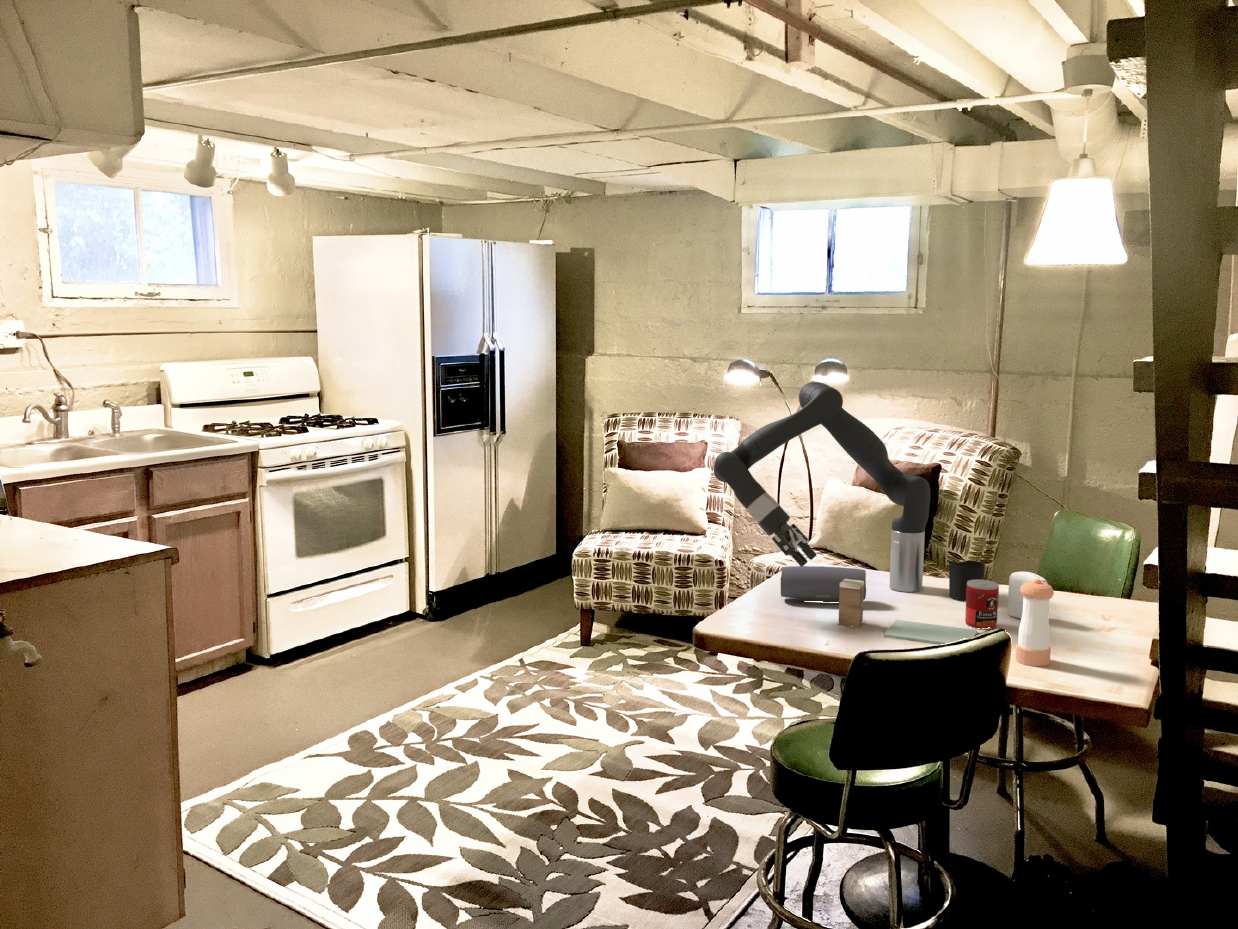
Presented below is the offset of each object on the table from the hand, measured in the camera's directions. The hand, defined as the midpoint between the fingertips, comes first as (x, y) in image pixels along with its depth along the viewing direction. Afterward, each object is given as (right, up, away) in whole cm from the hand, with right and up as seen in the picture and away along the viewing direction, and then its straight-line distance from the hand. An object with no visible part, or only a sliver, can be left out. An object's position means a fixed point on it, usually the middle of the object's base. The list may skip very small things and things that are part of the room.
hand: (809, 561), depth 256 cm
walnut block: (+10, -16, -3) cm, 19 cm away
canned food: (+43, -16, -4) cm, 46 cm away
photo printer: (+57, -15, +2) cm, 59 cm away
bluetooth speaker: (+7, -13, +18) cm, 23 cm away
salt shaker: (+45, -20, -31) cm, 58 cm away
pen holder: (+48, -13, +21) cm, 54 cm away
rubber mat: (+28, -17, -12) cm, 35 cm away
